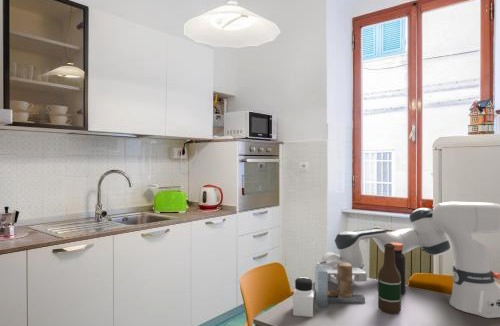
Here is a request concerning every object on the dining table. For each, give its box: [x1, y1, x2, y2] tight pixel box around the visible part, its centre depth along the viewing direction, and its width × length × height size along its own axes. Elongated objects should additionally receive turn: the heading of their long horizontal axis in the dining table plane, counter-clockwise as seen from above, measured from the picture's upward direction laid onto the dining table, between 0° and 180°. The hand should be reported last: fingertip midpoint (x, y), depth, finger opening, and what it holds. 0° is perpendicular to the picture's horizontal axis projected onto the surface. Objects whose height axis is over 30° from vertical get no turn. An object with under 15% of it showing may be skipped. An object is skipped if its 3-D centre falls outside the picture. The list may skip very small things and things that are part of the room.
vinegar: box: [390, 243, 406, 296], centre depth 140 cm, size 7×7×20 cm
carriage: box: [329, 263, 353, 298], centre depth 131 cm, size 8×4×12 cm, turn 89°
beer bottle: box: [377, 243, 402, 315], centre depth 123 cm, size 8×8×24 cm
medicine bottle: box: [292, 276, 315, 318], centre depth 121 cm, size 7×7×12 cm
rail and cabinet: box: [314, 265, 366, 308], centre depth 129 cm, size 18×7×13 cm, turn 89°
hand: (344, 281), depth 130 cm, fingers closed on carriage, 4 cm apart
